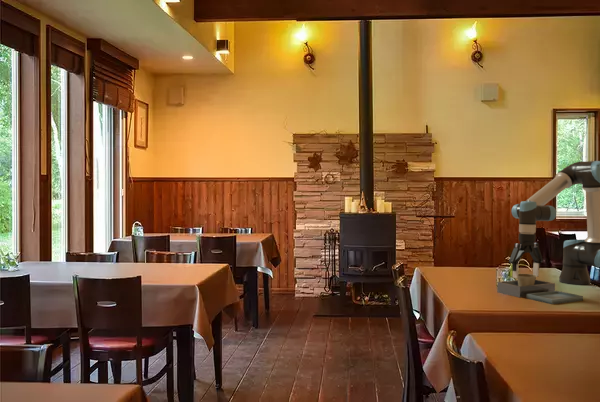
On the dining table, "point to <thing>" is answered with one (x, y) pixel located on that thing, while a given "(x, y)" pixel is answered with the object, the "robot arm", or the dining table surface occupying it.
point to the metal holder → (524, 288)
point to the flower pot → (526, 279)
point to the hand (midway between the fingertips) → (525, 277)
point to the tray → (554, 297)
